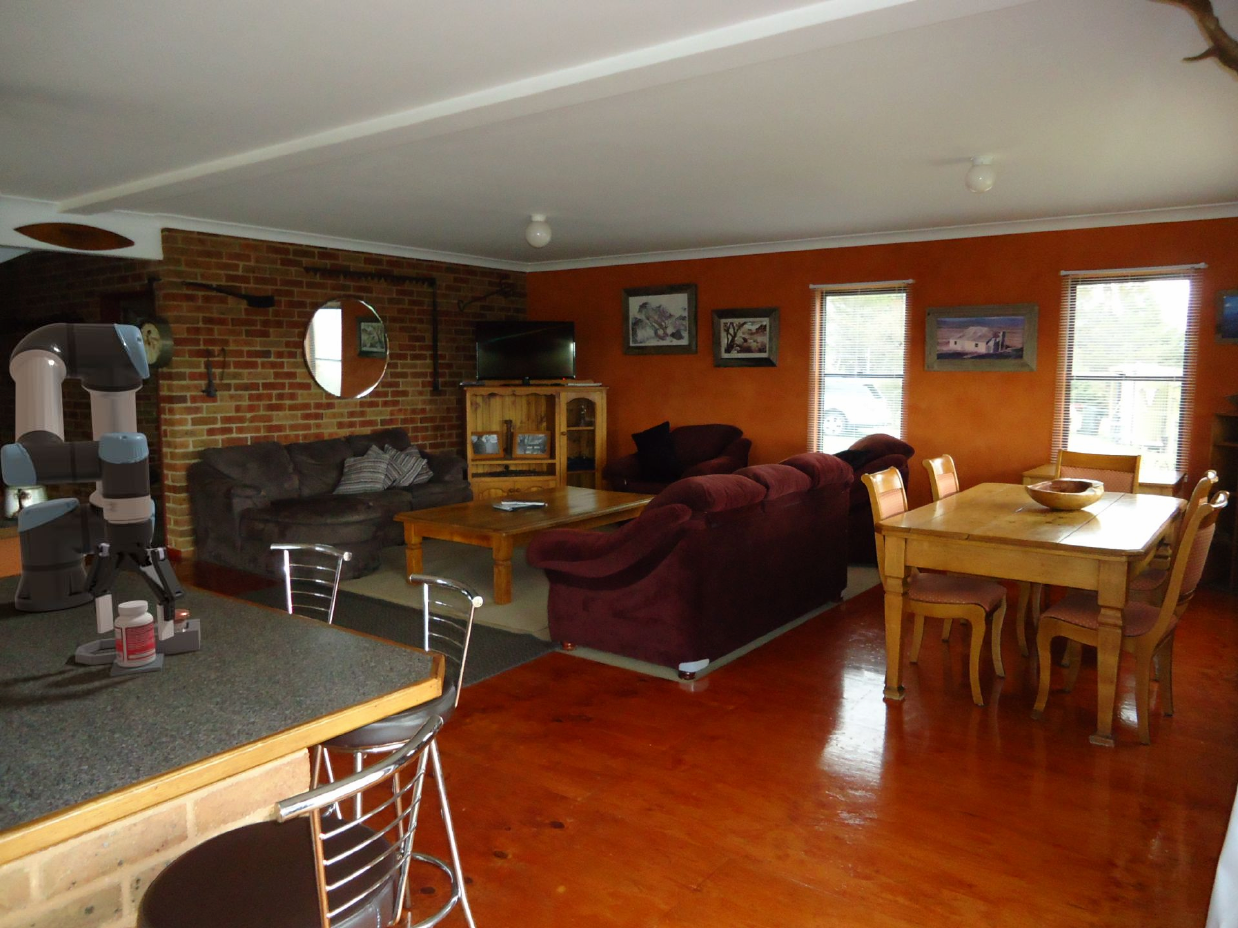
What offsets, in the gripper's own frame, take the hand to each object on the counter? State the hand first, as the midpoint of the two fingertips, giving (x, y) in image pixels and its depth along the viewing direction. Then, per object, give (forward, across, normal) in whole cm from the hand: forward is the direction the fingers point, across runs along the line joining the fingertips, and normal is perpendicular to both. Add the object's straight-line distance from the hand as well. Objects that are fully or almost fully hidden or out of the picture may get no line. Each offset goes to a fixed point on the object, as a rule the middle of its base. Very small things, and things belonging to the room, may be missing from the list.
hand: (135, 634), depth 157 cm
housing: (+6, -6, +7) cm, 11 cm away
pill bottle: (+6, 0, 0) cm, 6 cm away
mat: (+6, 0, 0) cm, 6 cm away
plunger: (+5, -1, +11) cm, 12 cm away
